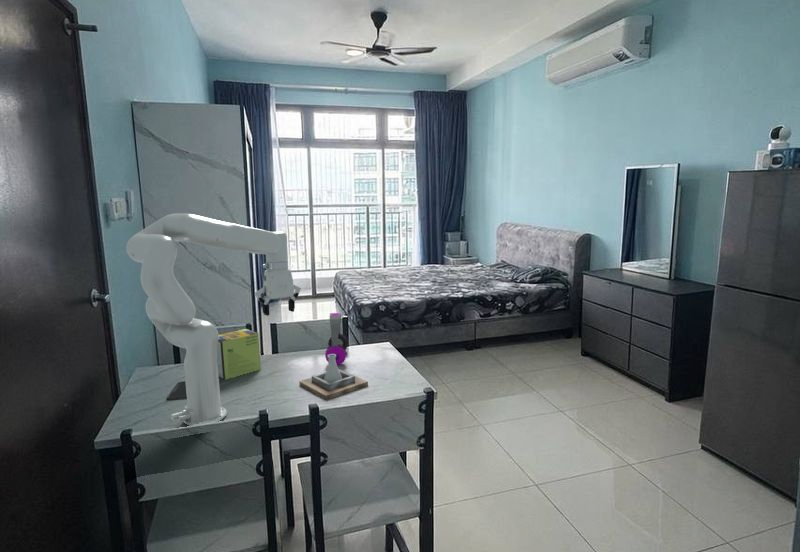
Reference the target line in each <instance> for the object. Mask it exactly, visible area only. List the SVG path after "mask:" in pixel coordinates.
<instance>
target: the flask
mask: <svg viewBox="0 0 800 552" xmlns="http://www.w3.org/2000/svg"><path fill="white" fill-rule="evenodd" d="M335 357H336V354H329V355H328V361H329V362H328V361H327V362H328V363H327V369H326V371H325V372H326V374H325V377H324V380H325V381H327V382H329V383H331V382H334V381H337V380H340V379H342V376H341V374H340V372H339V369H340V368H339V367H338V365H337V364H336V359H335Z"/></svg>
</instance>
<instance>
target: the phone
mask: <svg viewBox="0 0 800 552" xmlns="http://www.w3.org/2000/svg"><path fill="white" fill-rule="evenodd" d="M179 398H187V394H186V383H185V380H184V381H179V382H177V383H176V384H175V386H174V387H173V388H172V389H171V391H170V392H169V393H168V395H167V396H166V400H167V399H175V400H177V399H179Z"/></svg>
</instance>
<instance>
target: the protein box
mask: <svg viewBox="0 0 800 552" xmlns="http://www.w3.org/2000/svg"><path fill="white" fill-rule="evenodd" d="M260 353H261V352H260V337H259V332H256V331H253V330H250V329H248V328H243V329H239V330H235V331H230V332H225V333H222V334H218V347H217V364H218V377H219V378H220V379H222V380H225V381H227V380H230V378H231V379H234V378H236V377H237V376H238V377H241V376H244V375H243V374H245V375H247V373H248V374H251V373H254V372H253V371H255V372H258V371H261V370H262V367H261V366H262V365H261V354H260ZM260 369H261V370H260ZM257 370H258V371H257ZM250 372H251V373H250ZM240 375H241V376H240Z"/></svg>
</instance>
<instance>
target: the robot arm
mask: <svg viewBox="0 0 800 552" xmlns="http://www.w3.org/2000/svg"><path fill="white" fill-rule="evenodd" d="M176 242H179V243H190V244H194V245H198V246H205V247H211V248H216V249H222V250H233V251H237V250H239V251H245V252H247V253H249V254H252V255H253V254H255V255H265V263H263V264H262V268H263V269H265V270H264V276H263V282H262V283H263V285H262V286H263V287H262V288H260V289H258V290H257V291H255V292H254V295H255V298H257V301H259V302H260V303H261V304H262V313H263V315H265V316H267V317H269V316H270V305H269V304H268V303H269V302H270V301H271V300H278V299H284V298H288V300H287V301H288V302H287V303H288V311H290V312H291V313H292V312H293V313H294V312H295V309H296V302H295V301H296V300H297V298H298V297H299V296H300V295H299V294H300V292H301V287H299V286H297V285H295V284H294V280H293V275H292V270H291V269H289V259H288V258H289V257H288V236H287V233H286V232H284V231H269V230H266V229H262V228H261V229H260V228H255V227H251V226H245V225H241V224H237V223H233V222H227V221H222V220H217V219H215V218H210V217H206V216H201V215H198V214H194V213H193V214H192V213H170V214H168V215H165V216H163V217H161V218H159V219H158V220H156V221H155V222H153V223H151V224H150V225H148V226H147V227H145V228H143V229H142V230H139V231H138V232H137V233H135V234H134V235H132V236H131V237H130V238H129V240H128V241H127V244H126V246H125V247H126V253H127V255H128V257H129V258H130V259H131V260H132V261H134V262H136V263H139V264H142V265H141V269H140V284H141V287H142V289H143V291H144V293H145V294H146V296H148V297H147V299H146V301H145V308H144V309H145V313H146V316H147V317H148V319H149V321H151V323H152V325H154V326H155V328H156V329H157V330H158V331H159V332H160V334H161V335H162V336H163V337H164V338H165V340H166V341H168V343H170V345H173V346H175V347H178V348H182V349H185V350H186V353H185V356H184V360H183V370H184V381H185V383H186V394H187V399H186V401H187V403H186V404H187V405H184V409H182V410H181V411H180V412H174V413H172V414H171V415H170V418H171V421H176V420H178V421H179V422H182V421H183V424H184V423H185V424H187V425H193V424H199V422H203V421H207V420H209V421H210V420H213V419H220V418H223V417H225V416H226V417H227V415H228V412H227V409H226V408H225V407H223V406H222V404H221V401H222V400H221V392H220V391H221V389H220V379H219V378H220V377H219V376H218V364H217V347H218V335H219V332H218V329H217V327H216V326H215V325H214V324H213V323H211V322H210V321H208V320H203V319H199V318H195V317H196V312H197V309H196V306H195V303H194V302H193V300H192V299H191V298H190V297H189V295H188V293H186V291H185V290H184V288H183V287H182V285H181V284H180V283H179V281H178V279H177V278H176V276H175V273H174V268H175V267H174V265H175V263H176V258H178V257H177V255H178V245H177V243H176ZM262 294H263V297H262ZM226 417H225V418H226ZM185 424H184V425H185ZM187 425H186V426H187Z"/></svg>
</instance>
